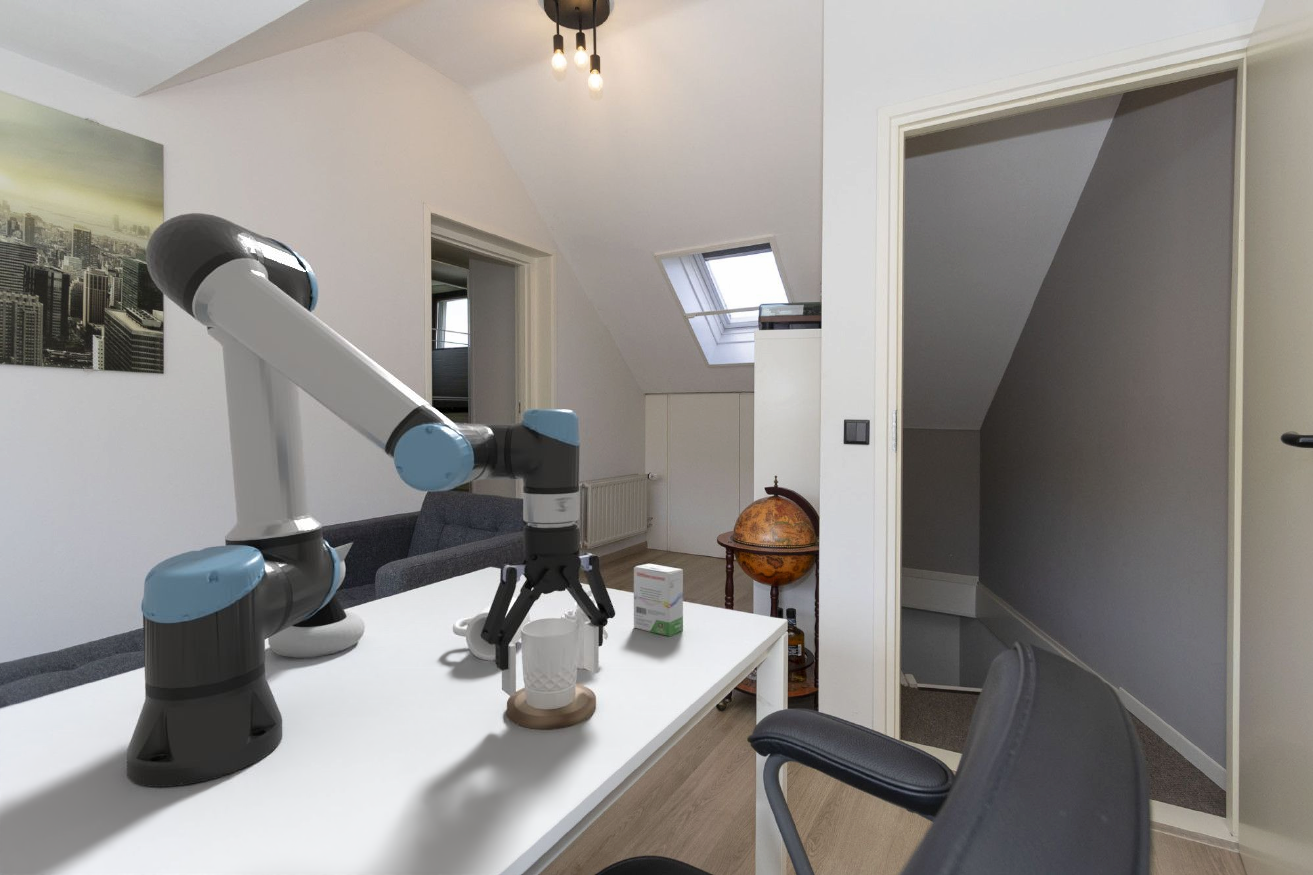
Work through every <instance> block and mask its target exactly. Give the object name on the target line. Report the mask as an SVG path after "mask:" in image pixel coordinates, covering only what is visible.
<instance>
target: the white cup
mask: <svg viewBox="0 0 1313 875" xmlns="http://www.w3.org/2000/svg"><path fill="white" fill-rule="evenodd" d="M520 641H521V642H520V643H521V661H522V662H521V664H522V676H523V679H522V680H523V683H524V688H525V700H526V703H527V705H529V706H531V707H533V708H537V709H543V710H546V709H549V710H550V709H557V708H561V707H565V706H567V705H569V704H570V703H572V702H573V701H574V698H575V695H576V684H577V678H578V668H577V665H578V647H579V624H578V623H577V622H575V621H572V620H569V619H562V618H561V617H552V618H551V617H549V618H540V619H535V620H531V621H530V622H528V623H526V624H524V625H523V626H522V627H521V638H520Z"/></svg>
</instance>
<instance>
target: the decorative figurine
mask: <svg viewBox="0 0 1313 875" xmlns="http://www.w3.org/2000/svg"><path fill="white" fill-rule="evenodd" d="M353 544H354V541H352V542H349V543H346V544H343V545H340V546H337V547H331V546H330V547H331V548H334V550H335V551H336V553H337V555H338V558H339V561H340V567H341V576H340V581H339V585H338V588H337V590H338V589H339V588H340V586H342V584H343V581H344V579H345V577H346V562H345V559H346V556H347V555H348V553H349V552H350V549H351V548H352V545H353ZM365 625H366V624H365V622H364V620H363V618H362V617H361V616H360V615H358V614H357V613H355V612H353V611H348V610H344V608H343V605H342V604H341V602H340V601H339V599H338V596H337V595H336V593H335V594H334V595H333V597H332V598H331V600H330V601H329V602H328V603H327V604H326V605H325V606H324V607H322V608H321V609H320V610H318V611H317V612H316V613H315V614H314V615H312V616H311V617H310V618H308V619H306V620H304V621H301V622H299V623H297V624H294V625H292V626H290V627H288V628H286V629H284V630H282V631H280V632H278V633H276V634H274V635H273V636H271V637H269V638H267V639H268V640H267V641H268V645H269V648H270V649H271V650H272V652H274V653H275V654H278V655H279V656H283V657H286V658H287V657H288V658H295V659H297V658H300V659H301V658H302V659H303V658H306V659H307V658H316V657H322V656H326V655H327V656H328V655H331V654H335V653H339V652H342V651H344V650H346V649H349V648H351V647H352V646H354V645H356V644H357V643H358V642H359V641H360V640H361V639H362V637H363V636H364V633H365V629H366V627H365Z"/></svg>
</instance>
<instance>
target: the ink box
mask: <svg viewBox="0 0 1313 875" xmlns="http://www.w3.org/2000/svg"><path fill="white" fill-rule="evenodd" d="M633 628H634V629H637V630H642V631H647V632H650V633H653V634H654V633H655V634H658V635H662V636H666V637H671V636H673V635H676V634H678V633H679V632H681V631H683V630H684V569H682V568H676V567H670V566H665V565H659V564H656V563H655V564H653V563H646V564H640V565H636V566H635V567H633Z"/></svg>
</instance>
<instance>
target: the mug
mask: <svg viewBox="0 0 1313 875" xmlns="http://www.w3.org/2000/svg"><path fill="white" fill-rule="evenodd" d="M516 599H517V598H516V597H514V596H513V597H512V600H511V603H510V605H509V608H508V611H507V614H508V612H509V611H510V609H511V607H512V606H513V604H514V602H515V601H516ZM492 603H493V602H491V603H490V604H489V605H487V606H486V607H485V608H483V610H481V611H480V612H478V613H477V614H476V615H475V616H471V617H465V618H460V619H458V620H455V622H454V623H453V625H452V632H453V633H454V635H456V636H459V637H463V638H465V640H466V641H465V642H466V644H467V647H468V648H469V650H470V651H471V653H472V654H473V655H475V656H476V657H477V658H479V659H481V660H485V661H495V660H496V659H495V657H496V656H495V644H489V643H488V642H486V641H485V640H483V639H482V638H481V632H482V630H483V627H484V624H485V621H486V619H487V616H488V613H489V611H490V608H491V605H492ZM507 614H506V615H507ZM505 617H506V616H505ZM530 620H531V619H530V611H529V612H528V614H527V615H526V617H525V619H524V620H523V622H522V624H521V625H520V627H519V629H518V630H517V632H516V634H515V635H514V637H513V639H512V640H511V642H512V643H513V644H515V645H516V644H517V643H518V641H520V640H521V627H522V626H523V625H524V624H526V623H528V622H531V621H530ZM465 626H467V627H465Z"/></svg>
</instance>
